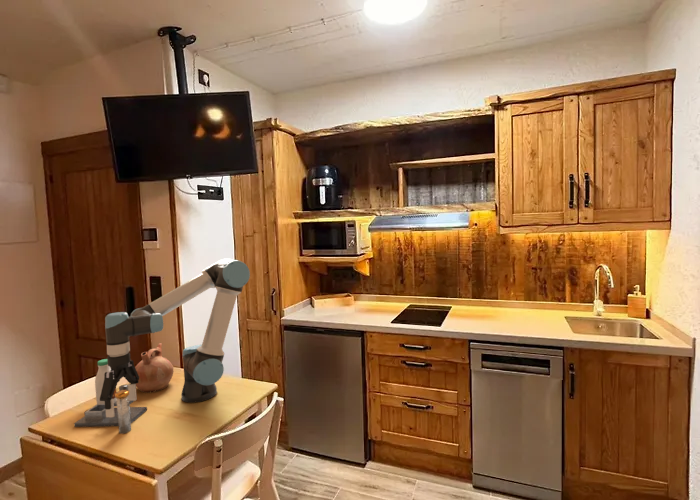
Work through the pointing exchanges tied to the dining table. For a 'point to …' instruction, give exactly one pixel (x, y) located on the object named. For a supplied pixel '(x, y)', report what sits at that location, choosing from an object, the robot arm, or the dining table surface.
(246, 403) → the dining table surface
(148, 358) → the jug
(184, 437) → the dining table surface
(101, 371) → the milk bottle
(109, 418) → the grey fixture stand
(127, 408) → the glass jar
